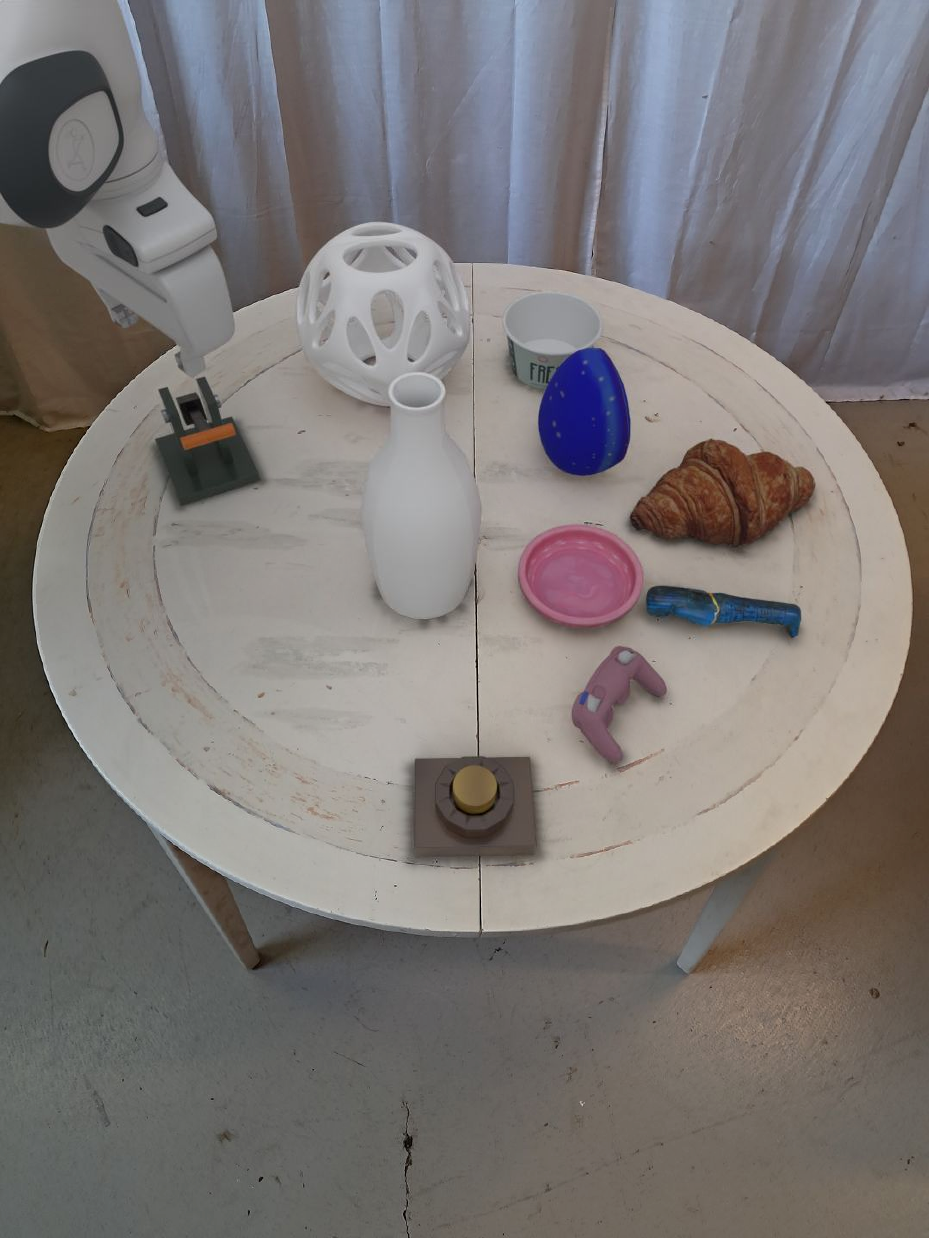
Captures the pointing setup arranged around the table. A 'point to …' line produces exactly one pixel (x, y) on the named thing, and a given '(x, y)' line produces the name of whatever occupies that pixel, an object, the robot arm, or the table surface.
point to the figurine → (720, 608)
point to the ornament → (585, 414)
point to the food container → (548, 333)
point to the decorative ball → (353, 297)
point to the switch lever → (200, 423)
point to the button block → (473, 834)
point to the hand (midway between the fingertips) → (159, 346)
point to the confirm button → (474, 789)
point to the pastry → (723, 495)
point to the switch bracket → (203, 453)
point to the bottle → (420, 505)
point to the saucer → (580, 576)
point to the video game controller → (612, 697)
